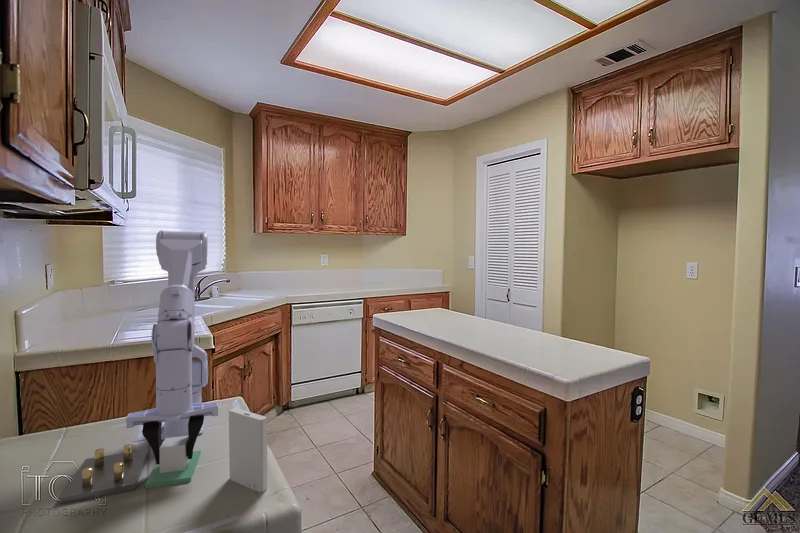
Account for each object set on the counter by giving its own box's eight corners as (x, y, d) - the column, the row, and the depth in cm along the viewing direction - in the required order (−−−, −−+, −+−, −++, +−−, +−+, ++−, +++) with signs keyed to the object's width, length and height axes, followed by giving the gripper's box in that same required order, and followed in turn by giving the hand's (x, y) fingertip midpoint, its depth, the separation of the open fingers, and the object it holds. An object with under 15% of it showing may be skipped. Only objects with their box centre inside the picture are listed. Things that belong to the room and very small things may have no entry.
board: (160, 459, 78) (160, 432, 78) (201, 454, 80) (200, 428, 80) (144, 488, 69) (144, 457, 68) (190, 482, 71) (190, 452, 70)
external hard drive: (260, 494, 67) (260, 420, 67) (228, 480, 71) (227, 410, 71) (268, 489, 69) (268, 416, 68) (236, 475, 73) (235, 407, 72)
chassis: (85, 464, 76) (85, 445, 76) (148, 454, 80) (147, 436, 80) (60, 503, 64) (59, 482, 64) (134, 489, 68) (134, 469, 68)
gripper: (121, 398, 67) (122, 478, 68) (217, 387, 73) (218, 461, 73) (130, 385, 74) (131, 458, 74) (218, 376, 79) (218, 444, 80)
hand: (175, 459), depth 74 cm, fingers closed on board, 4 cm apart
